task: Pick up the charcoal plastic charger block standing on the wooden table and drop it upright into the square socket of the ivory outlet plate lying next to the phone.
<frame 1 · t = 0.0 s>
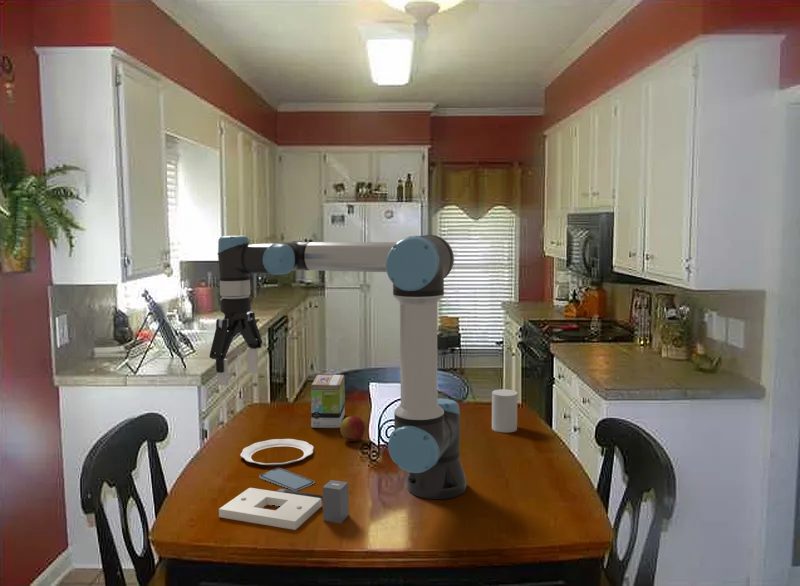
hand: (238, 378, 174), 28 cm above the table, fingers open, 13 cm apart
tea box: (328, 422, 230), on the table
cable: (302, 496, 168), on the table
smartphone: (286, 482, 179), on the table
outlet plate: (271, 511, 160), on the table
white cylinder: (504, 429, 220), on the table
apple: (352, 441, 209), on the table
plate: (277, 456, 198), on the table
charger: (336, 517, 156), on the table
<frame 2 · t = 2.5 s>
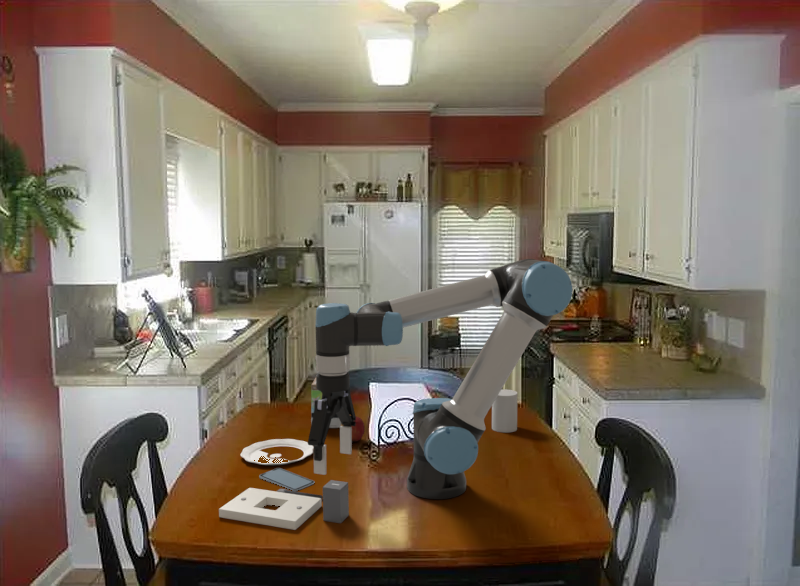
hand: (333, 463, 155), 13 cm above the table, fingers open, 13 cm apart
nothing on the table moved.
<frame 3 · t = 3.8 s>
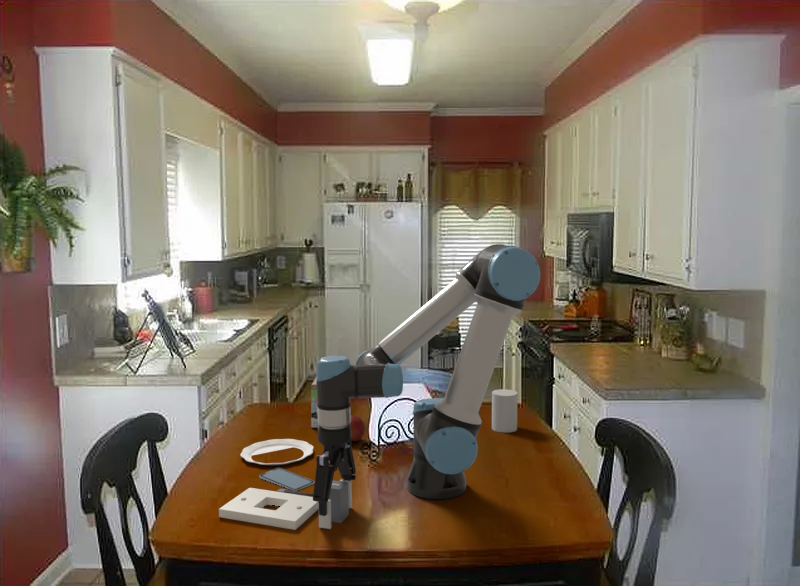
hand: (336, 516, 156), 0 cm above the table, fingers open, 11 cm apart
nothing on the table moved.
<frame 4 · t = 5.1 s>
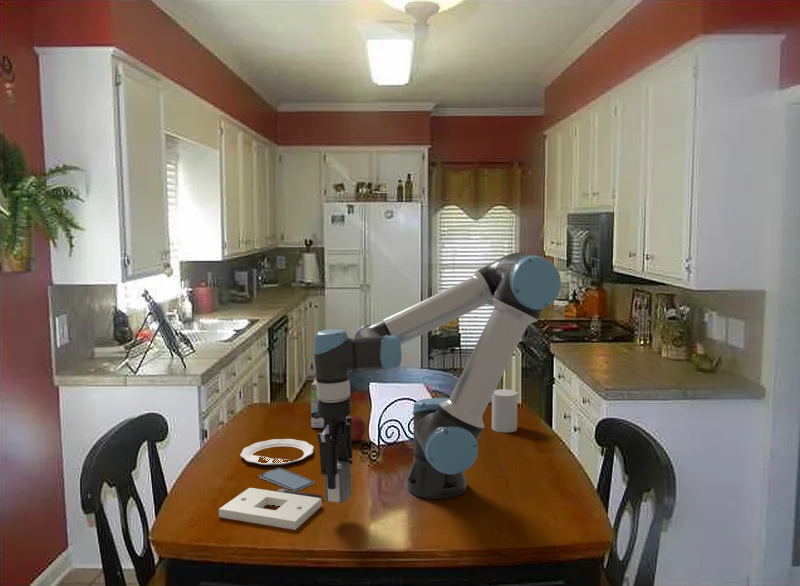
hand: (339, 496, 156), 5 cm above the table, fingers closed on charger, 4 cm apart
charger: (338, 497, 156), point 5 cm above the table, touching gripper
everything else where it was.
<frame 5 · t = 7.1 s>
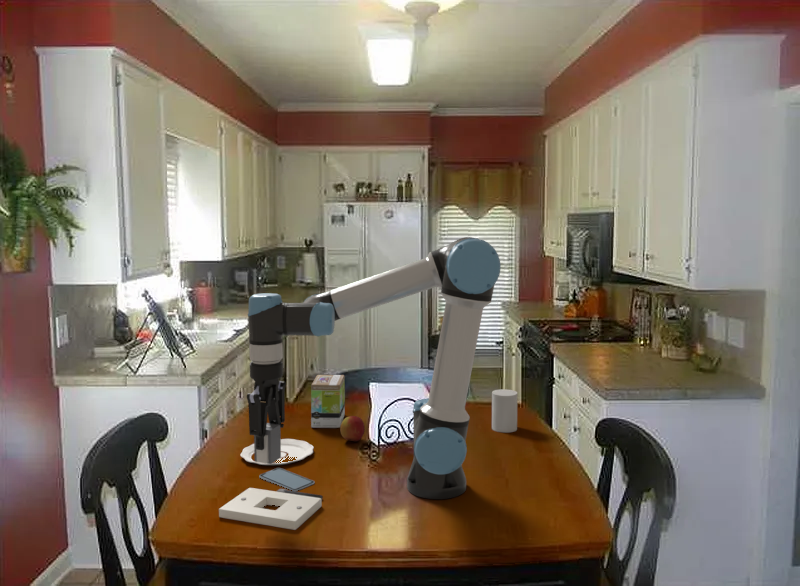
hand: (268, 458, 158), 13 cm above the table, fingers closed on charger, 4 cm apart
charger: (267, 459, 158), point 13 cm above the table, touching gripper
everything else where it was.
when the fingers open (2 cm above the table, at t = 9.0 s): charger drops 2 cm, resting in outlet plate.
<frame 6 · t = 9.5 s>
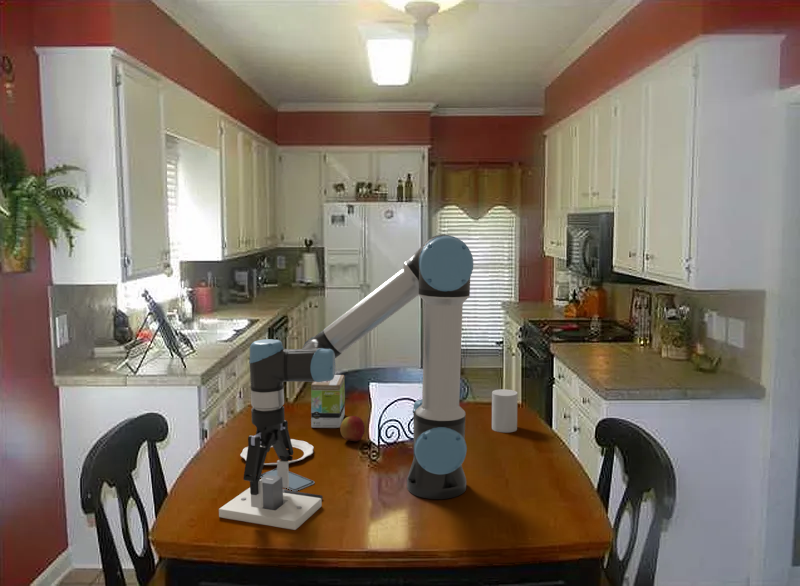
hand: (270, 496, 159), 4 cm above the table, fingers open, 11 cm apart
charger: (270, 511, 160), resting in outlet plate
everything else where it was.
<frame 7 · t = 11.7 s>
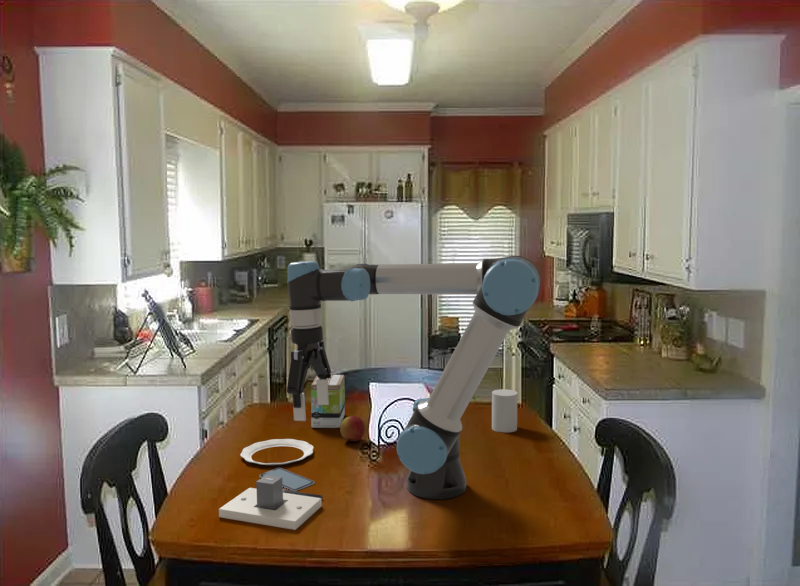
hand: (312, 412, 164), 22 cm above the table, fingers open, 13 cm apart
nothing on the table moved.
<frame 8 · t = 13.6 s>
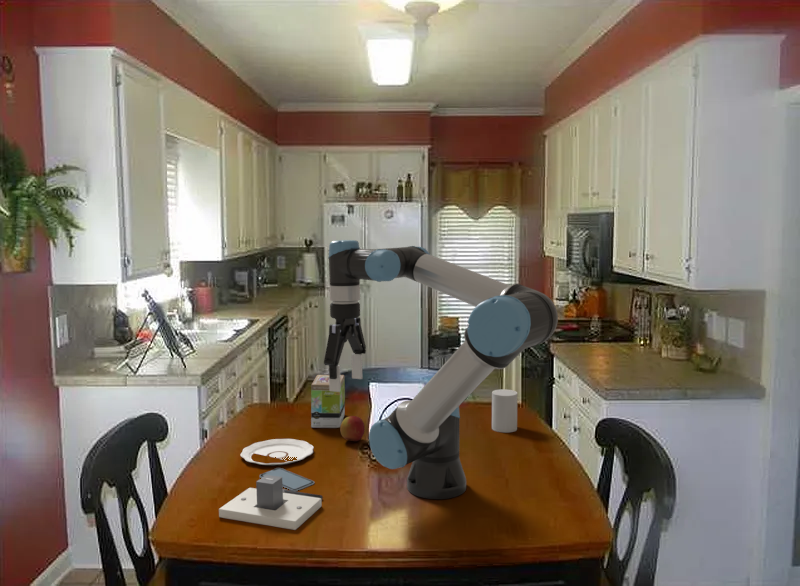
hand: (346, 384, 172), 27 cm above the table, fingers open, 13 cm apart
nothing on the table moved.
at the end: charger 0.2 cm off-centre on the outlet plate, point 0.0 cm above the outlet plate's base; charger tilted 0°; the gripper is holding nothing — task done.
